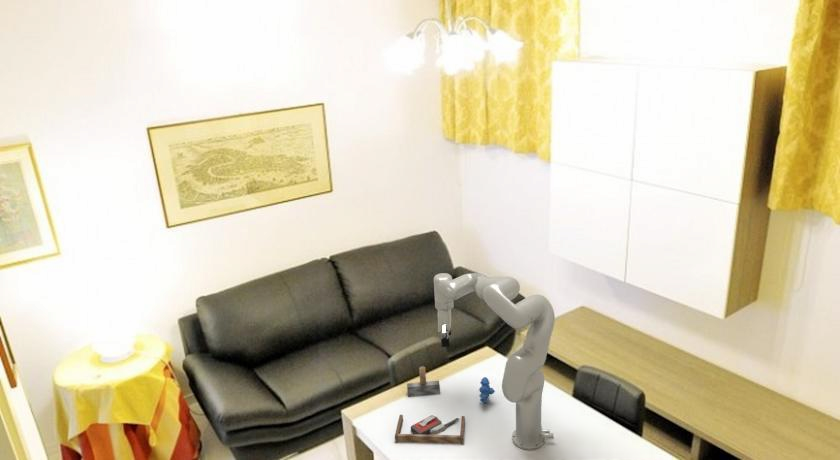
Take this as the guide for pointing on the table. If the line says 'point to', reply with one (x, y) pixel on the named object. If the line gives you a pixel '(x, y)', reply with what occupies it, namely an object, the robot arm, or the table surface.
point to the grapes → (485, 390)
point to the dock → (429, 438)
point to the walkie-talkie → (430, 426)
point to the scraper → (423, 386)
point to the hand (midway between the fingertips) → (446, 340)
